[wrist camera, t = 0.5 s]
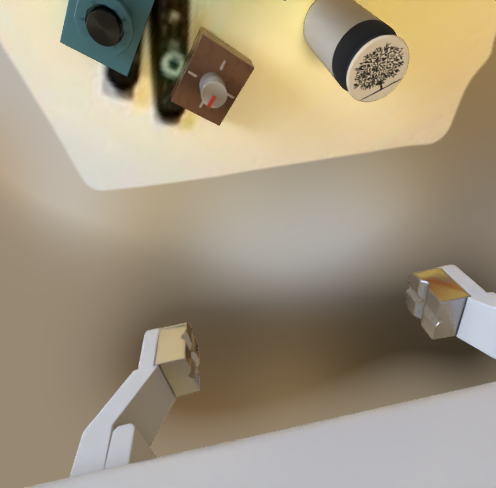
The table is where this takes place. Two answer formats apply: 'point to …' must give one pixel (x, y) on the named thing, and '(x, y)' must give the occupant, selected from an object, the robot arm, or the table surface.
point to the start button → (103, 26)
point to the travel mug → (356, 48)
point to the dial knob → (213, 90)
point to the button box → (132, 26)
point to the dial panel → (210, 60)
